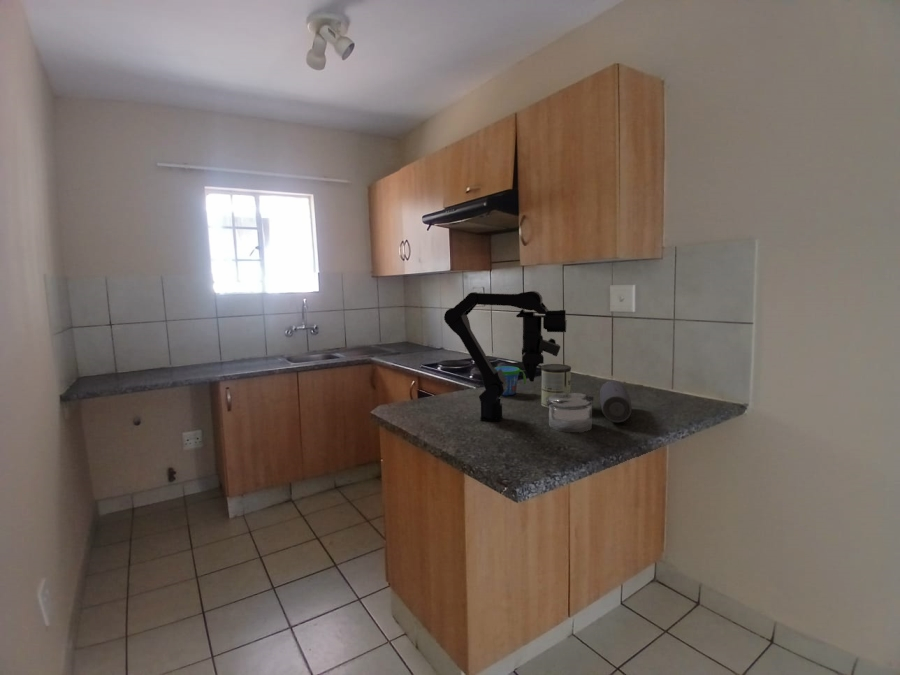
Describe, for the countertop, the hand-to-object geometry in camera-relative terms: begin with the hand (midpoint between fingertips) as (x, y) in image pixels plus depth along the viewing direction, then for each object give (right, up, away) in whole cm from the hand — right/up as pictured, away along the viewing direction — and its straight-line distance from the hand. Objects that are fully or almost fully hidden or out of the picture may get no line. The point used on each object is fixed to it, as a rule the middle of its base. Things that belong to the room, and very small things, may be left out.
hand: (531, 381), depth 138 cm
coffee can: (+12, -11, +20) cm, 26 cm away
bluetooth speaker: (+28, -12, +6) cm, 31 cm away
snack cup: (-3, -9, +37) cm, 39 cm away
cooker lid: (+11, -6, -4) cm, 13 cm away
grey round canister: (+11, -13, -3) cm, 18 cm away
